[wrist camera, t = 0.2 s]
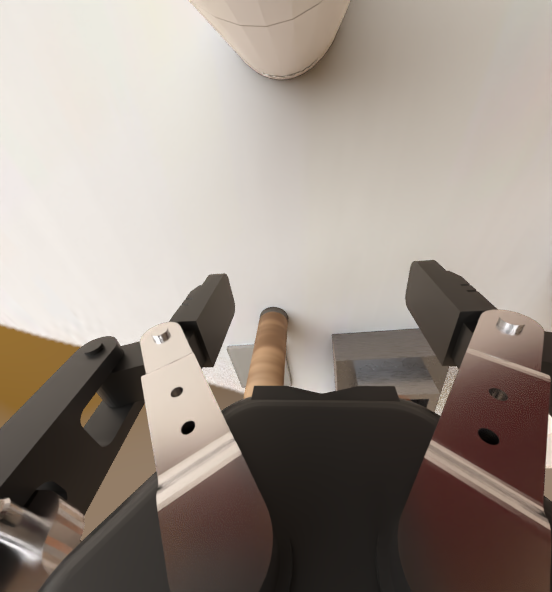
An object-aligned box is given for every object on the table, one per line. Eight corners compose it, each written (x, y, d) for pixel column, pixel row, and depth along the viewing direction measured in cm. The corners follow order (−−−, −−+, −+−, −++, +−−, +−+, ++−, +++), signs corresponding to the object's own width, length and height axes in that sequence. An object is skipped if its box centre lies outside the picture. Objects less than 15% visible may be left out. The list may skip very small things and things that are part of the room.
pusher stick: (257, 308, 35) (236, 399, 24) (285, 305, 34) (278, 398, 23) (263, 329, 37) (246, 421, 26) (289, 327, 37) (284, 421, 25)
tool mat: (227, 346, 40) (226, 349, 39) (282, 342, 38) (282, 345, 38) (242, 384, 45) (242, 387, 45) (291, 382, 44) (291, 385, 43)
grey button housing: (331, 334, 37) (339, 384, 30) (434, 327, 34) (468, 379, 27) (335, 391, 44) (342, 441, 37) (419, 388, 42) (443, 441, 35)
